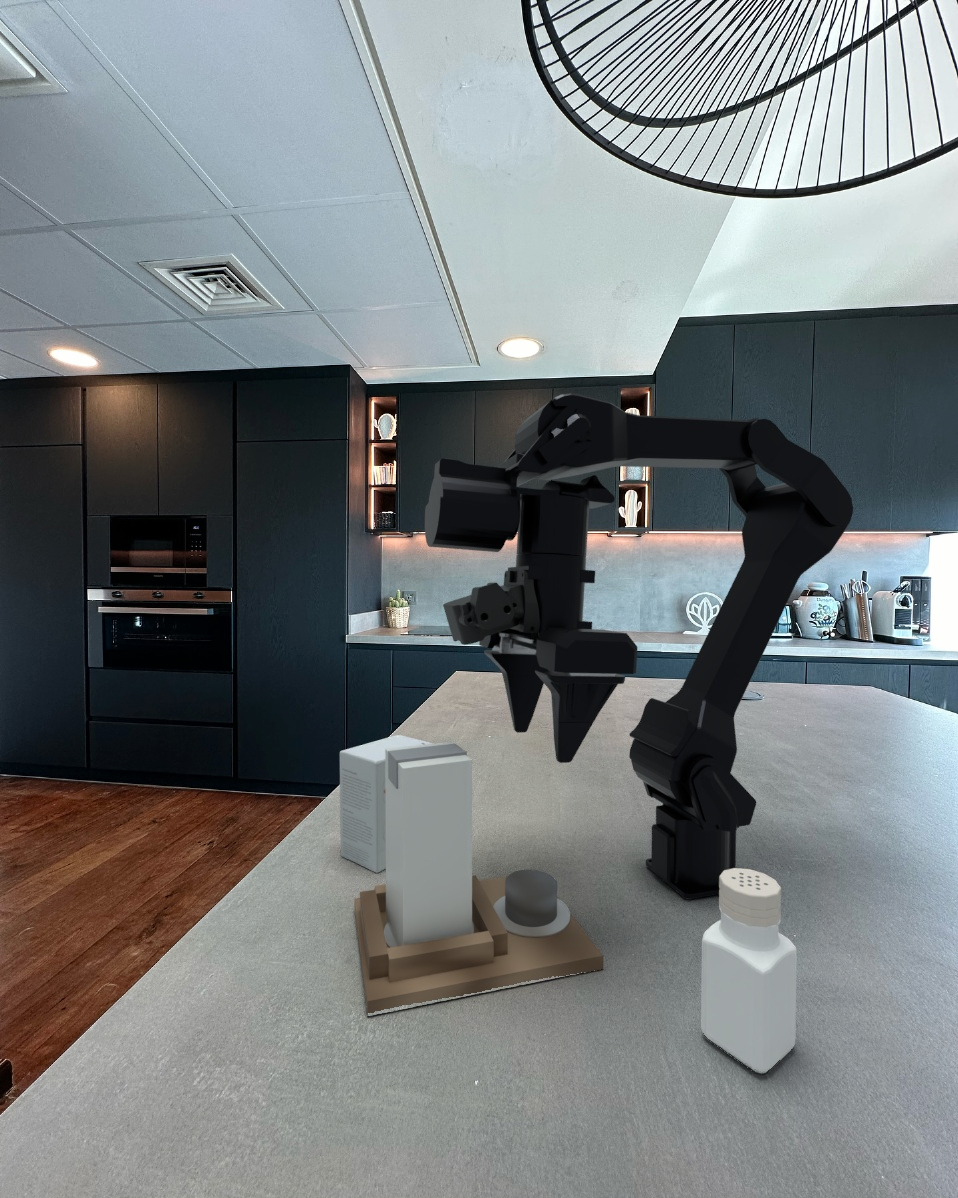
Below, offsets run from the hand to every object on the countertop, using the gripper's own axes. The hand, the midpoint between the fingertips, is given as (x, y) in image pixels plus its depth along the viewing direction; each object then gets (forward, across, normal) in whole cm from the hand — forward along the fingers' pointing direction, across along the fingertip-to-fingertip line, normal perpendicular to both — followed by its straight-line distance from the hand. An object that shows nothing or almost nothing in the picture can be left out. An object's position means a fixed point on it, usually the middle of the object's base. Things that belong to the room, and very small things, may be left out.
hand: (540, 745), depth 48 cm
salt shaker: (+13, +17, +7) cm, 22 cm away
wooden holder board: (+14, +3, -6) cm, 15 cm away
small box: (+14, -13, -10) cm, 22 cm away
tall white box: (+13, +3, -9) cm, 16 cm away
